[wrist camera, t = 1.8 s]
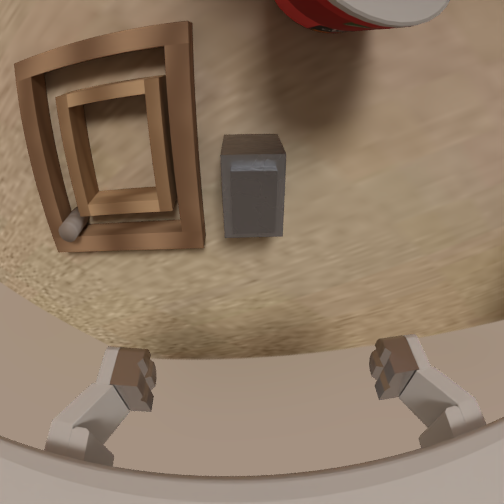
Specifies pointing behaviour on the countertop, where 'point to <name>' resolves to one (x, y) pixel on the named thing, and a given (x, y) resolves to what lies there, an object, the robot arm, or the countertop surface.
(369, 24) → the canned food
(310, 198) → the countertop surface
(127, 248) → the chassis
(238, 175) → the grey block
